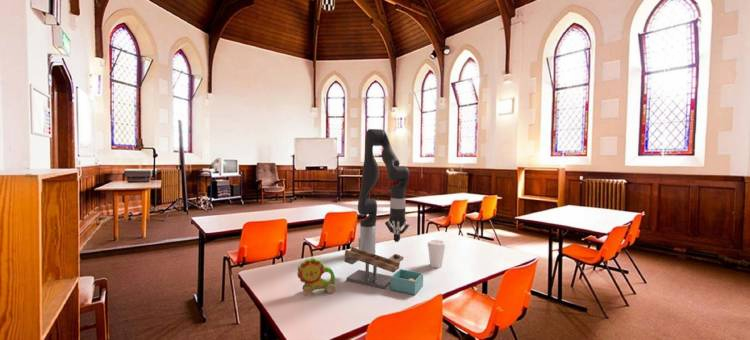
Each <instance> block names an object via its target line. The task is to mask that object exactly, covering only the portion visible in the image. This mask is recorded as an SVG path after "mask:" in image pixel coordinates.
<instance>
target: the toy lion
mask: <svg viewBox="0 0 750 340" xmlns="http://www.w3.org/2000/svg"><path fill="white" fill-rule="evenodd" d="M325 273H328V274H329V275H330V280H328V281H327V280H326V279H324V278H323V277H322V276H323V274H325ZM297 278H298V279H299V281H300V282H301V283H304V284H303V285H302V290H303V291H302V292H303V295H304V296H306V295H309V294H311V295H312V294H313V292H314V291H316V290H326V292H327V293H328V294H333V293H334V292H335V291H336V286H335V281H336V277H335V272H334V270H332V268H331V267H329V266H325V265H324V264H323V262H321V260H320V259H318V258H316V257H311V258H306V259H305V260H303V261H301V262H300V265H299V266H297ZM309 296H310V295H309Z"/></svg>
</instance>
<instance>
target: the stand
mask: <svg viewBox="0 0 750 340" xmlns="http://www.w3.org/2000/svg"><path fill="white" fill-rule="evenodd" d="M372 266H373V265H372ZM364 267H365V270H362V269H357V270H356V271H354V272H353V273H351V274H350V275H348V276H347V277H346V278H345V279H346V282H349V281H350V283H355V284H360V285H362V286H363V285H364V286H369V287H372V288H378V289H382V290H386V289H387V288H388V287H389V286H391V277H392V276H393V275H387V274H383V273H378V271H377V268H378V267H376V266H373V268H372V270H373V271H370V264H369V262H366V263H365V266H364Z"/></svg>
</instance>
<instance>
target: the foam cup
mask: <svg viewBox="0 0 750 340" xmlns="http://www.w3.org/2000/svg"><path fill="white" fill-rule="evenodd" d="M427 248H428V255H429V256H428V259H429V266H430V267H431V268H437V269H439V268H442V267H443V263H444V256H445V250H446V249H445V248H446V241H444V240H440V239H429V240H428V241H427Z"/></svg>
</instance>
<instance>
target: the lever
mask: <svg viewBox="0 0 750 340" xmlns="http://www.w3.org/2000/svg"><path fill="white" fill-rule="evenodd" d="M403 260H404V256H403V255H400V254H397V253H394V254H393V255H391V256H389V258H387V257H385V256H382V255H378V254H376V253H375V254H372V253H369V252H366V251H363V250H360V249H359V248H357V247H354V246H351V247H350V250H348V249H345V250H344V263H347V264H349V265H355V263H357V262H362V263H364V264H366V262H369V266H376V267H377V268H379V269H382V270H385V271H388V272H391V273H394V274H395V273H396V271H398V270H400V266H401V265H400V264H401V261H403Z"/></svg>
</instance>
